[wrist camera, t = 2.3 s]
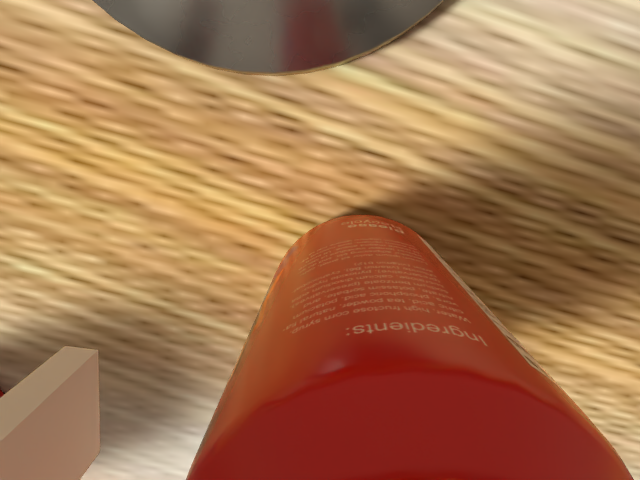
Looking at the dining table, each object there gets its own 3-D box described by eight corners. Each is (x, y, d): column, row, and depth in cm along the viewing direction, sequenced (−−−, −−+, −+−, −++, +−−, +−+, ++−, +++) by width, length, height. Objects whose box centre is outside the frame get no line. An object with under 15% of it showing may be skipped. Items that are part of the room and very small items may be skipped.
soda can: (475, 258, 19) (922, 631, 5) (391, 393, 21) (524, 977, 6) (321, 179, 19) (276, 322, 4) (248, 326, 20) (30, 797, 6)
